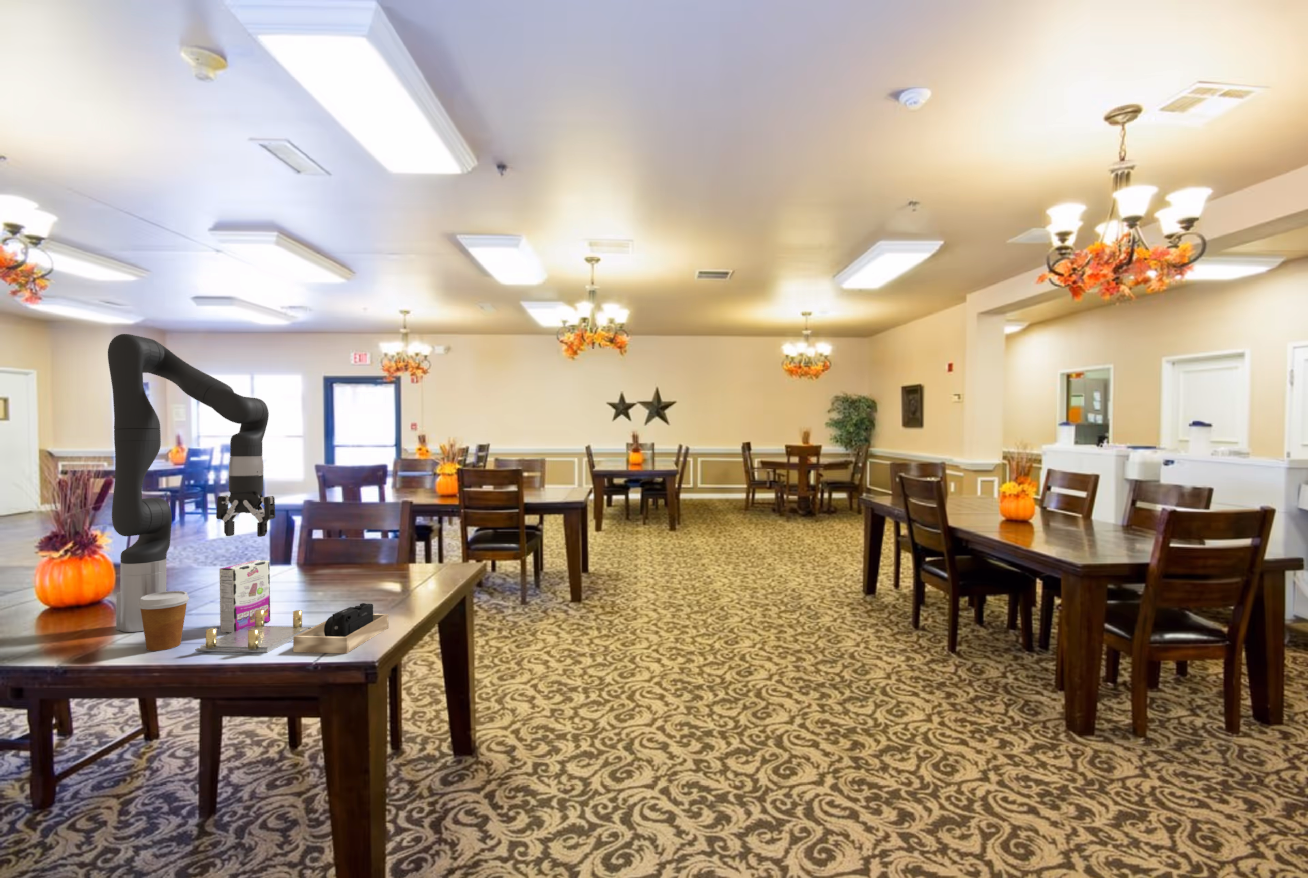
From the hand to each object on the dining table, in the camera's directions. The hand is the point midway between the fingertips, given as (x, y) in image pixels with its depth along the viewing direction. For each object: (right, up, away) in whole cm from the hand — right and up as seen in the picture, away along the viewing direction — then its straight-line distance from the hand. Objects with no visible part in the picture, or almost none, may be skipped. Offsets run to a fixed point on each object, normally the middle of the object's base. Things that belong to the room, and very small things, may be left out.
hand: (245, 536), depth 161 cm
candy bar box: (0, -24, 0) cm, 24 cm away
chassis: (+10, -24, -12) cm, 28 cm away
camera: (+31, -24, -9) cm, 40 cm away
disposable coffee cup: (-9, -24, -16) cm, 30 cm away
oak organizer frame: (+31, -24, -10) cm, 40 cm away
